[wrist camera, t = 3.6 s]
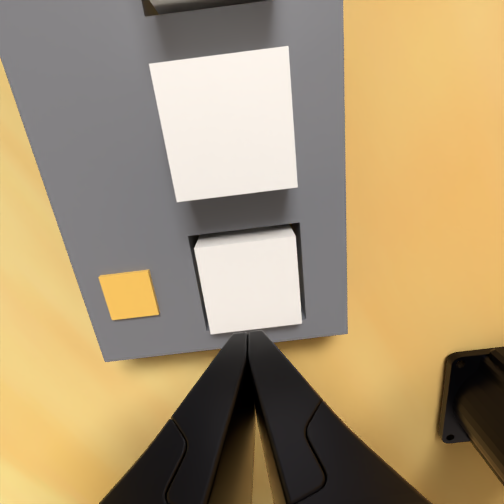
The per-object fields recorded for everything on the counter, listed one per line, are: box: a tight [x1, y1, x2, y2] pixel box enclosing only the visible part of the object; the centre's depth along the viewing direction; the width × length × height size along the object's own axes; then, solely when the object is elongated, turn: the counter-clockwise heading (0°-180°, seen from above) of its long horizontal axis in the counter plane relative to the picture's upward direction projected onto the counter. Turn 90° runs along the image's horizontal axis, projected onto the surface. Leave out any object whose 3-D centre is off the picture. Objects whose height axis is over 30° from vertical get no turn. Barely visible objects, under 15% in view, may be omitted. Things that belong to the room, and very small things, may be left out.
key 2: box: [194, 224, 302, 334], centre depth 14 cm, size 4×4×3 cm
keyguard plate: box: [0, 0, 348, 362], centre depth 12 cm, size 18×11×3 cm, turn 7°
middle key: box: [149, 46, 298, 202], centre depth 11 cm, size 4×4×3 cm
